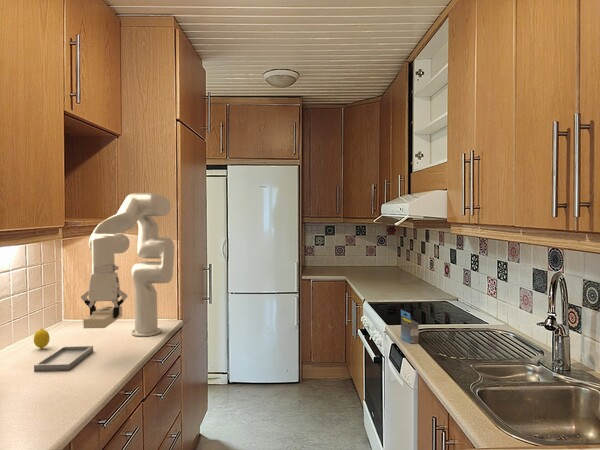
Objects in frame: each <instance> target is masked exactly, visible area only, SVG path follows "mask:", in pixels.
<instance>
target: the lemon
mask: <svg viewBox="0 0 600 450" xmlns="http://www.w3.org/2000/svg"><path fill="white" fill-rule="evenodd" d="M33 343H34V345H35V347H37V348H39V349H40V350H43V349H44V348H45V347H47V346H48V344H49V343H50V334H49V331H47V330H46V329H43V328H39V329H38V330H37V331H35V333H34V336H33Z"/></svg>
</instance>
